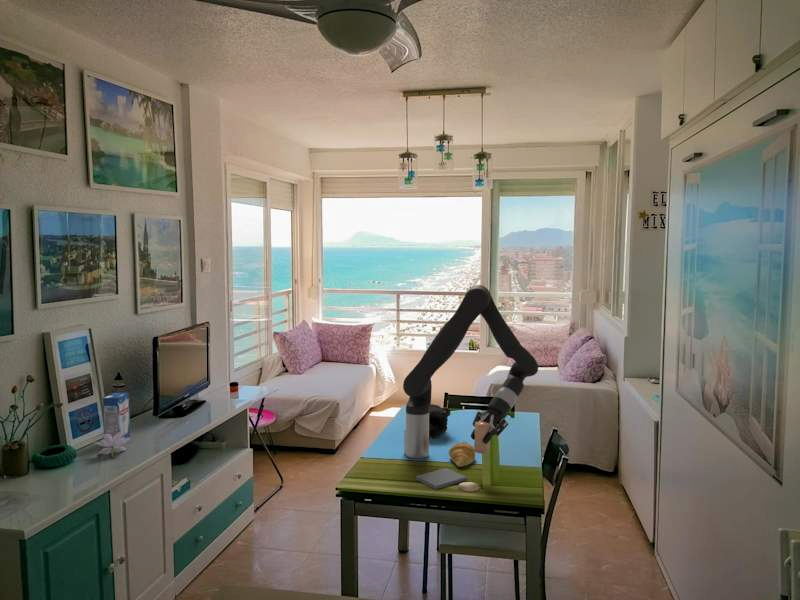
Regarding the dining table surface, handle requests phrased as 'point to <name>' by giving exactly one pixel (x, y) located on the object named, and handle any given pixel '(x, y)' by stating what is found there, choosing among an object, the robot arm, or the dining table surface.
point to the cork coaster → (469, 486)
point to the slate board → (441, 478)
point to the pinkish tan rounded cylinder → (481, 437)
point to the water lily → (112, 442)
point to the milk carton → (116, 414)
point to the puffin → (437, 420)
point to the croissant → (462, 454)
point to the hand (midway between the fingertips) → (478, 440)
